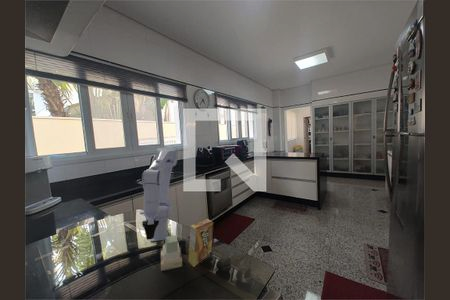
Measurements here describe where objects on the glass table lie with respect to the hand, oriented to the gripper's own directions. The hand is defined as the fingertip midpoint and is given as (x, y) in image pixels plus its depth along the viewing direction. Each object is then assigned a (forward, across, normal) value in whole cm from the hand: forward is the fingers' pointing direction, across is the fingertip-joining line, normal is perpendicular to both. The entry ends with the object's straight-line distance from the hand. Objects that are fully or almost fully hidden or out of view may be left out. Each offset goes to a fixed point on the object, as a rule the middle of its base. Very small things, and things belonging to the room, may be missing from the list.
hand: (150, 233), depth 68 cm
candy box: (+11, +6, +19) cm, 23 cm away
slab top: (+8, +4, +8) cm, 12 cm away
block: (+5, +5, +8) cm, 10 cm away
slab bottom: (+11, +4, +8) cm, 14 cm away
